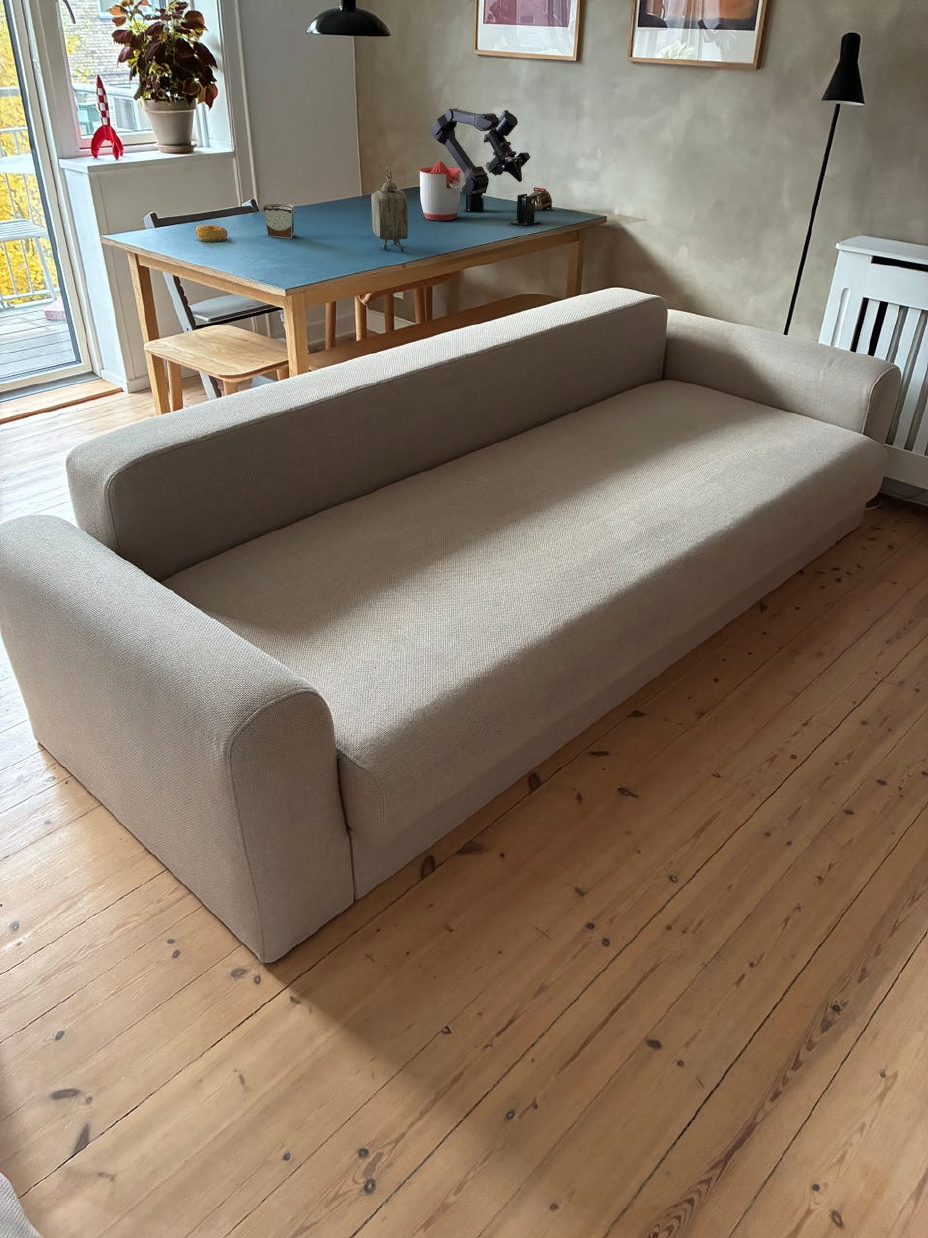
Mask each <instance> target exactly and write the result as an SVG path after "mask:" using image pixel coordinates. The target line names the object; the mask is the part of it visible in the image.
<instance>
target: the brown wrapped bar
mask: <svg viewBox="0 0 928 1238" xmlns="http://www.w3.org/2000/svg"><path fill="white" fill-rule="evenodd" d="M532 190H533V191H532V193H530V194H529V195H528V194H527V195H525V196H524V197H523V198H522V199H521V201H522V205H525V206H526V196H531V195H537V194H538V193H541V192H543V193H545V192H546V191H547V189H546V188H544V187H543V188H542V187H536V186H534V187H533V188H532Z"/></svg>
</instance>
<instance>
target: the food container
mask: <svg viewBox="0 0 928 1238" xmlns="http://www.w3.org/2000/svg"><path fill="white" fill-rule="evenodd" d="M261 212H262V213H263V217H264V222H265V229H266V232H267V237H268V238H280V239H281V238H282V239H293V238H294V237H295V236H294V235H295V234H294V232H295V231H294V230H295V228H294V225H295V224H294V223H295V222H294V221H295V218H294V217H295V215H296V209H295V207H294V205H293V204H289V203H288V204H287V203H269V204H263V205H262V206H261Z"/></svg>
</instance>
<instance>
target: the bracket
mask: <svg viewBox="0 0 928 1238" xmlns="http://www.w3.org/2000/svg"><path fill="white" fill-rule="evenodd" d="M525 195H528V193H522V194H517V197H516V198H517V200H516V220H514V221H510V224H509V225H512V226H518V227H523V228H527V227H530V226H531V227H532V226H535V225H536V226H537V225H540V224H541V220H535V219H536V218H535V217H536V216H535V215H536V209H535V207H536V201H535V197H536V195H531V194H530V195H531V196H529V195H528V196H526V206H525V205H522V201H521V199H522V198H523V197H524V196H525Z"/></svg>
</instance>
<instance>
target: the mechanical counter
mask: <svg viewBox="0 0 928 1238" xmlns="http://www.w3.org/2000/svg"><path fill="white" fill-rule="evenodd" d="M548 209H549V210H551V211H553V199H552V196H551V194H550V191H548V190H546V192H545V193H543V192H540V193H538V194H537V195H536V197H535V210H541V211H545V210H548Z"/></svg>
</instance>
